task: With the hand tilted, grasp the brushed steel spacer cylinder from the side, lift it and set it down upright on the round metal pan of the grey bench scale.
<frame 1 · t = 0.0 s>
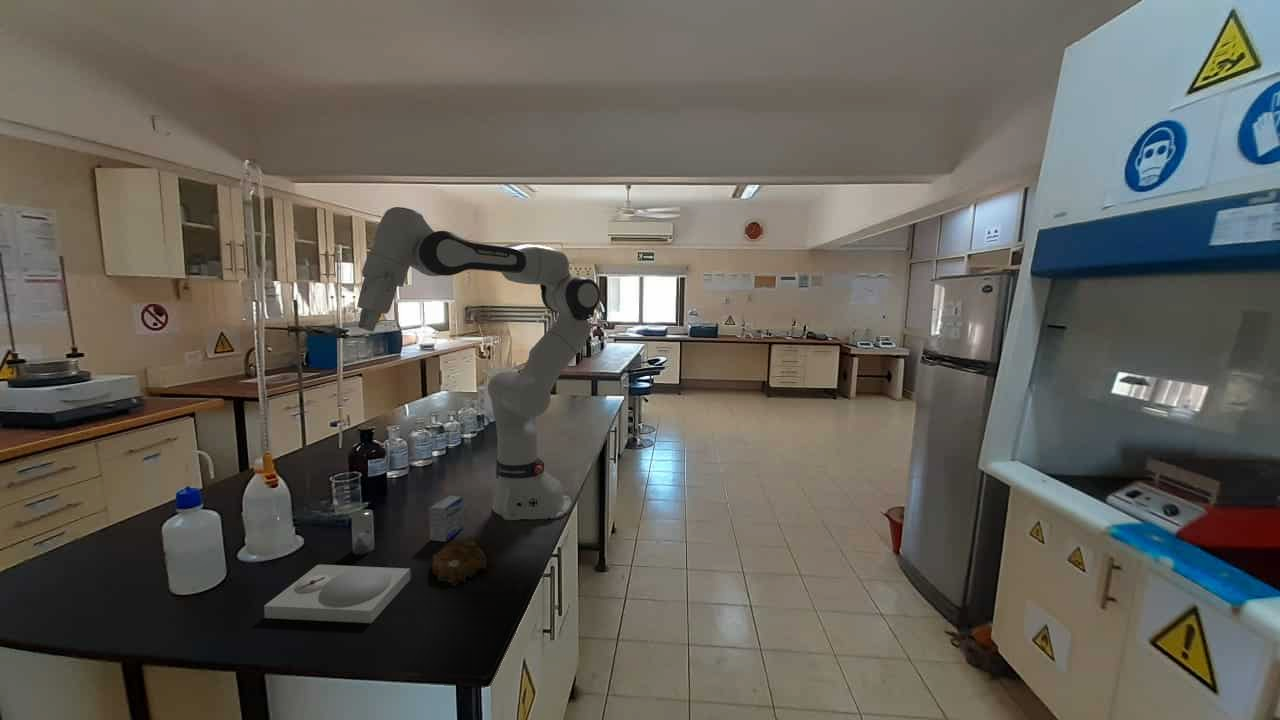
hand: (364, 329, 109), 52 cm above the lab bench, tool tilted 20°, fingers open, 8 cm apart
decorative rock: (459, 567, 106), on the lab bench
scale: (342, 597, 94), on the lab bench
medicine box: (446, 535, 120), on the lab bench
steel spacer: (363, 549, 112), on the lab bench
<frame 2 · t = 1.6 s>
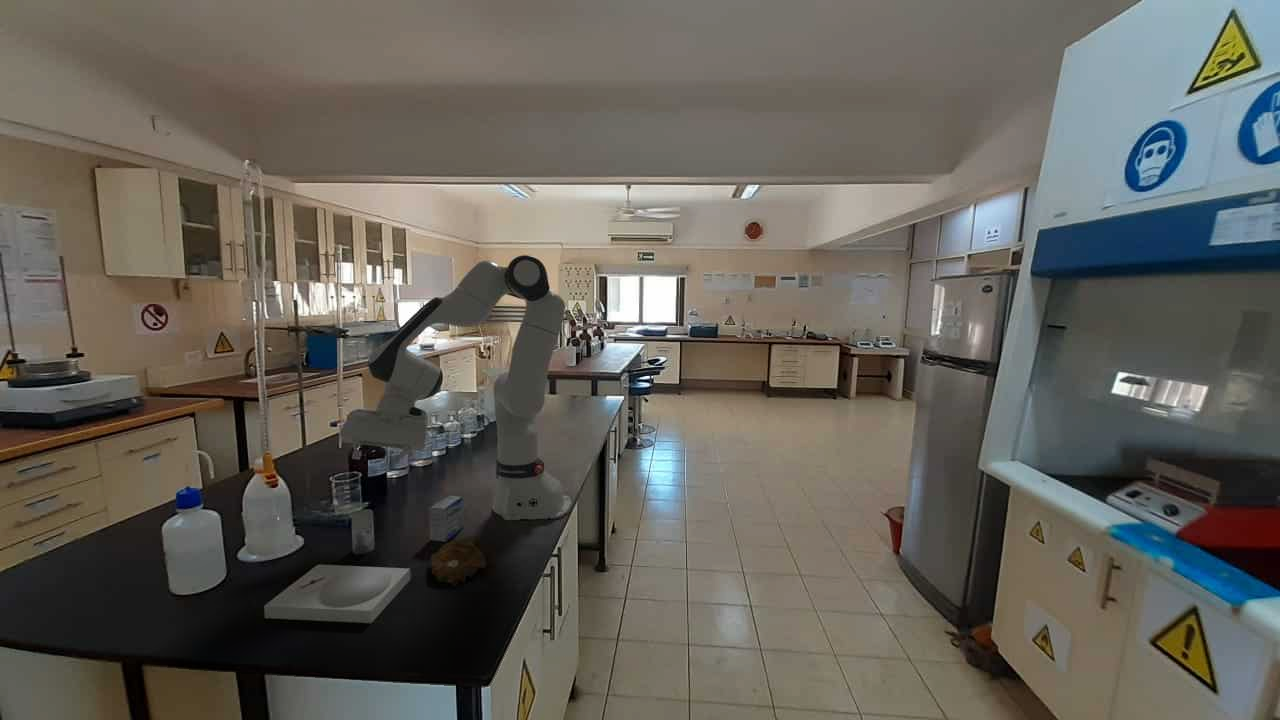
hand: (376, 460, 118), 19 cm above the lab bench, tool tilted 45°, fingers open, 8 cm apart
nothing on the lab bench moved.
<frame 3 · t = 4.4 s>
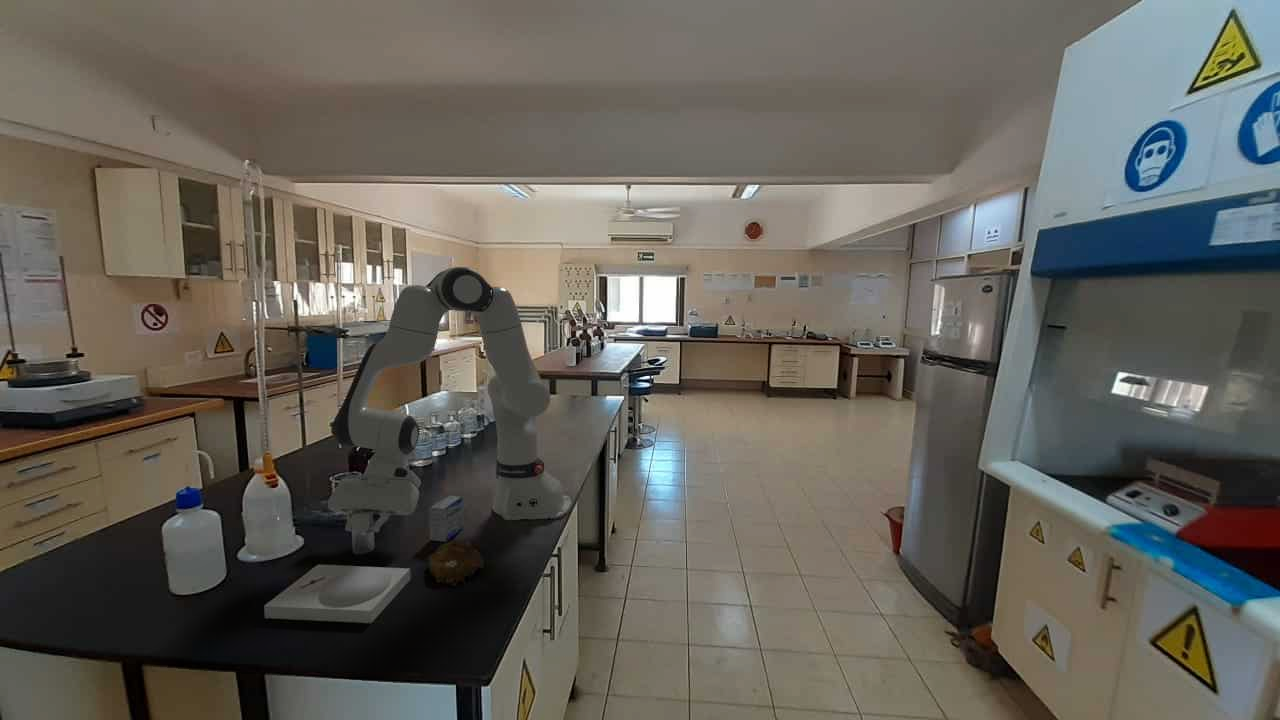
hand: (361, 531, 111), 5 cm above the lab bench, tool tilted 45°, fingers closed on steel spacer, 4 cm apart
steel spacer: (363, 549, 112), on the lab bench, touching gripper
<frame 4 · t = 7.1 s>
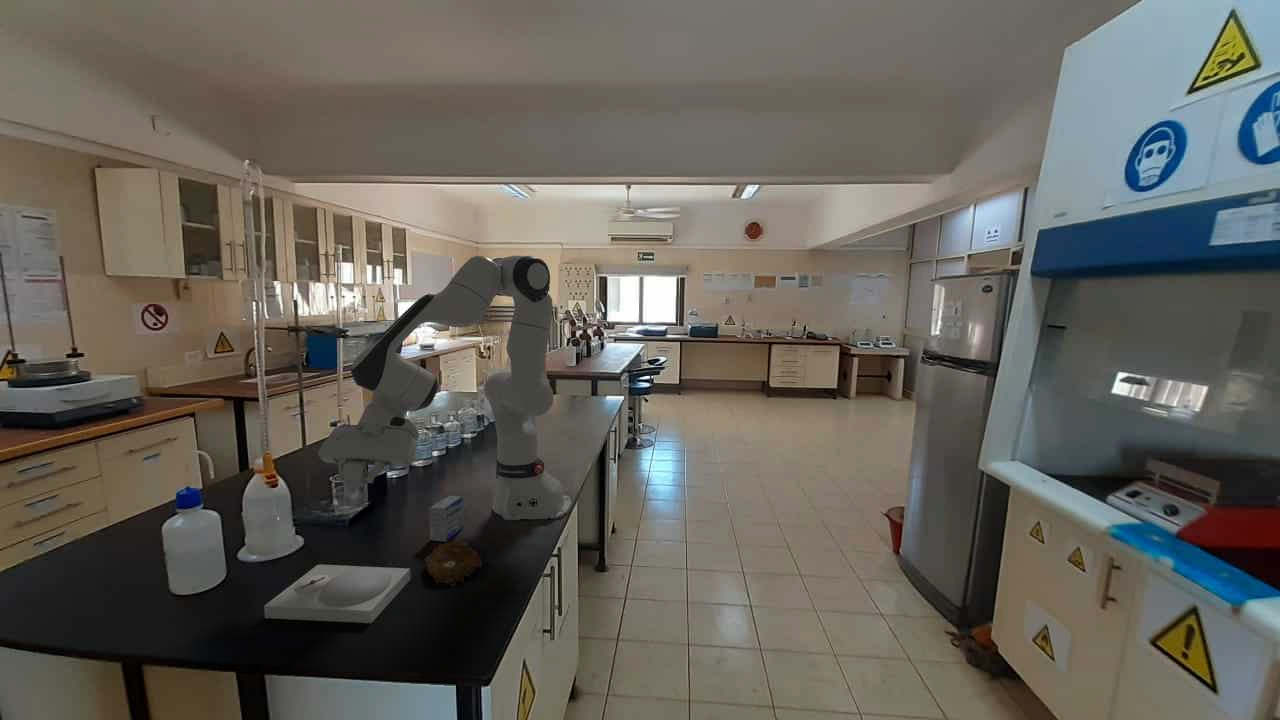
hand: (353, 481, 102), 20 cm above the lab bench, tool tilted 45°, fingers closed on steel spacer, 4 cm apart
steel spacer: (356, 502, 103), point 15 cm above the lab bench, touching gripper
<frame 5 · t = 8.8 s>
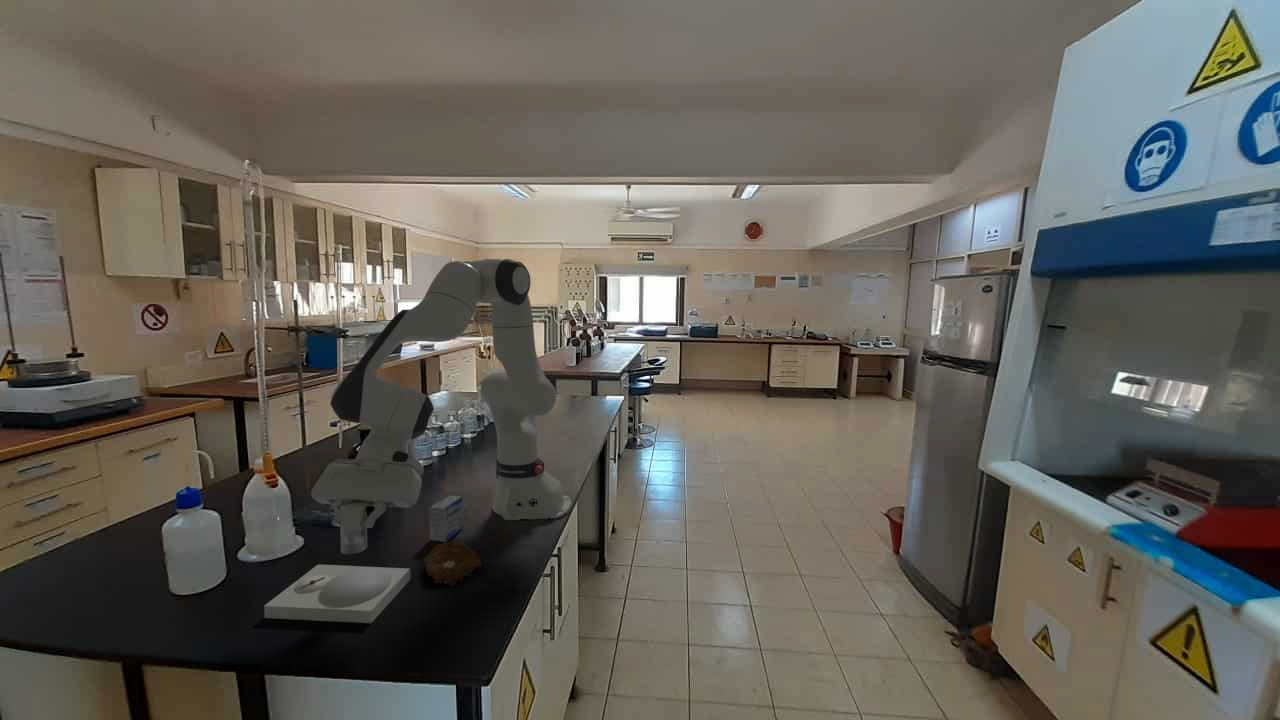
hand: (351, 526, 91), 15 cm above the lab bench, tool tilted 45°, fingers closed on steel spacer, 4 cm apart
steel spacer: (354, 548, 92), point 10 cm above the lab bench, touching gripper
when the fingers open (9 cm above the lab bench, at t = 10.2 s): steel spacer drops 1 cm, resting on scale.
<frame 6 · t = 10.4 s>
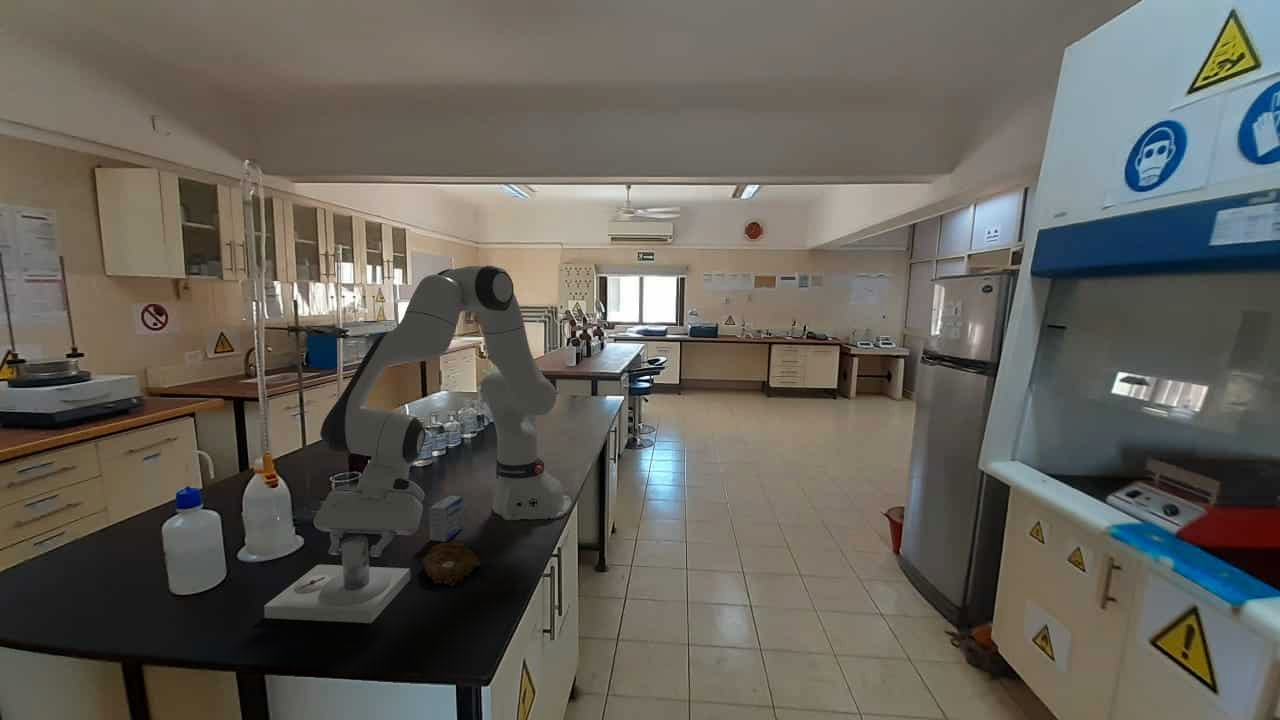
hand: (353, 555, 92), 9 cm above the lab bench, tool tilted 45°, fingers open, 7 cm apart
steel spacer: (357, 583, 93), point 3 cm above the lab bench, touching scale
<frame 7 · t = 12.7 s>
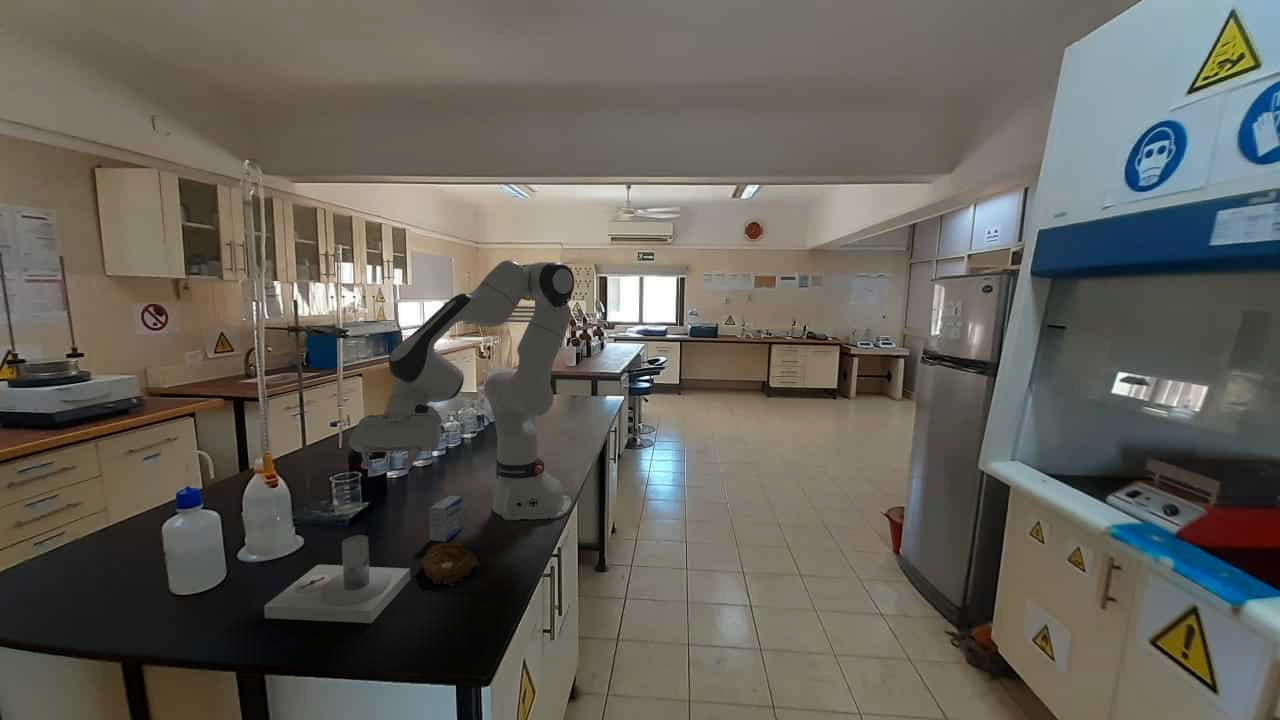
hand: (385, 467, 108), 21 cm above the lab bench, tool tilted 45°, fingers open, 8 cm apart
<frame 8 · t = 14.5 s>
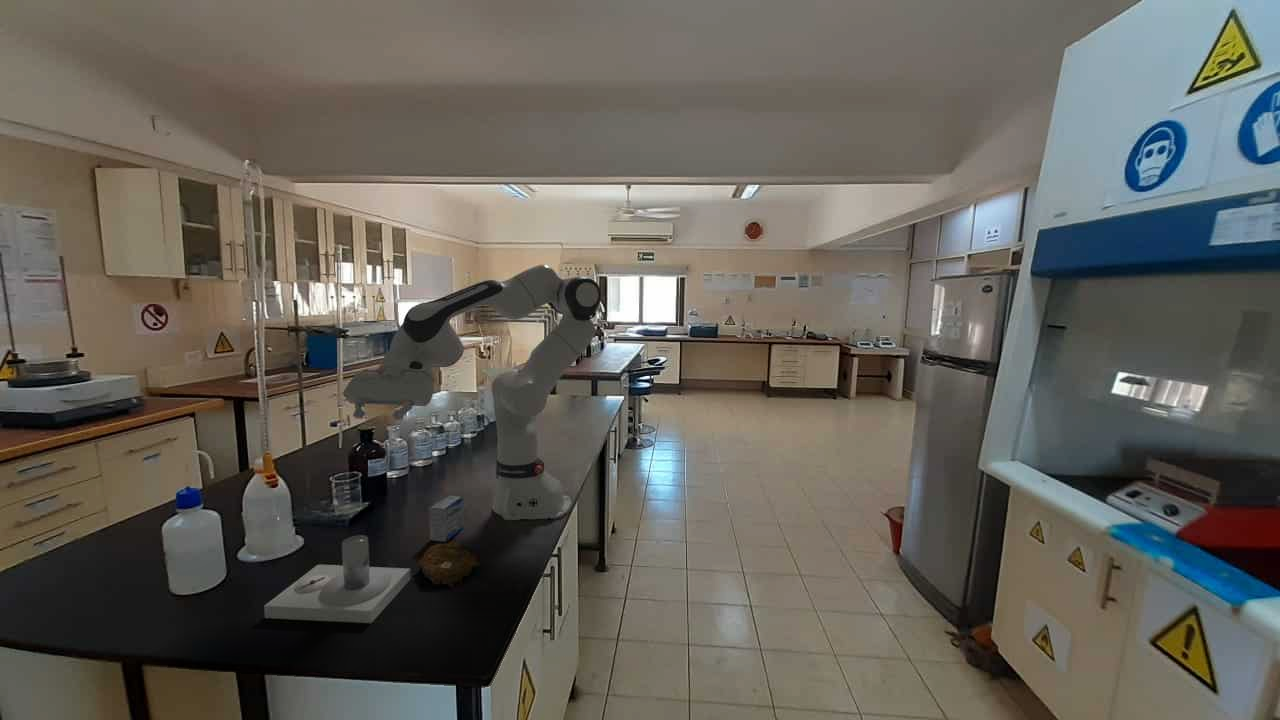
hand: (377, 418, 111), 31 cm above the lab bench, tool tilted 45°, fingers open, 8 cm apart
at the end: steel spacer inside the target area on the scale (0.0 cm from its centre), point 3.0 cm above the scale's base; steel spacer tilted 0°; the gripper is holding nothing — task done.
